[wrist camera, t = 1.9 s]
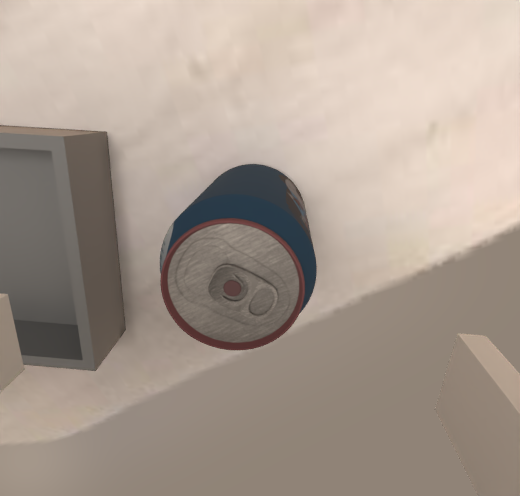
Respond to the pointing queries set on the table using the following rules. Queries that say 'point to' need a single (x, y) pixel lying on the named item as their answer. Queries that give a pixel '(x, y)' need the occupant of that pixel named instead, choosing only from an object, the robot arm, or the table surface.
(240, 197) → the soda can
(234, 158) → the table surface
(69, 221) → the bin
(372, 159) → the table surface
